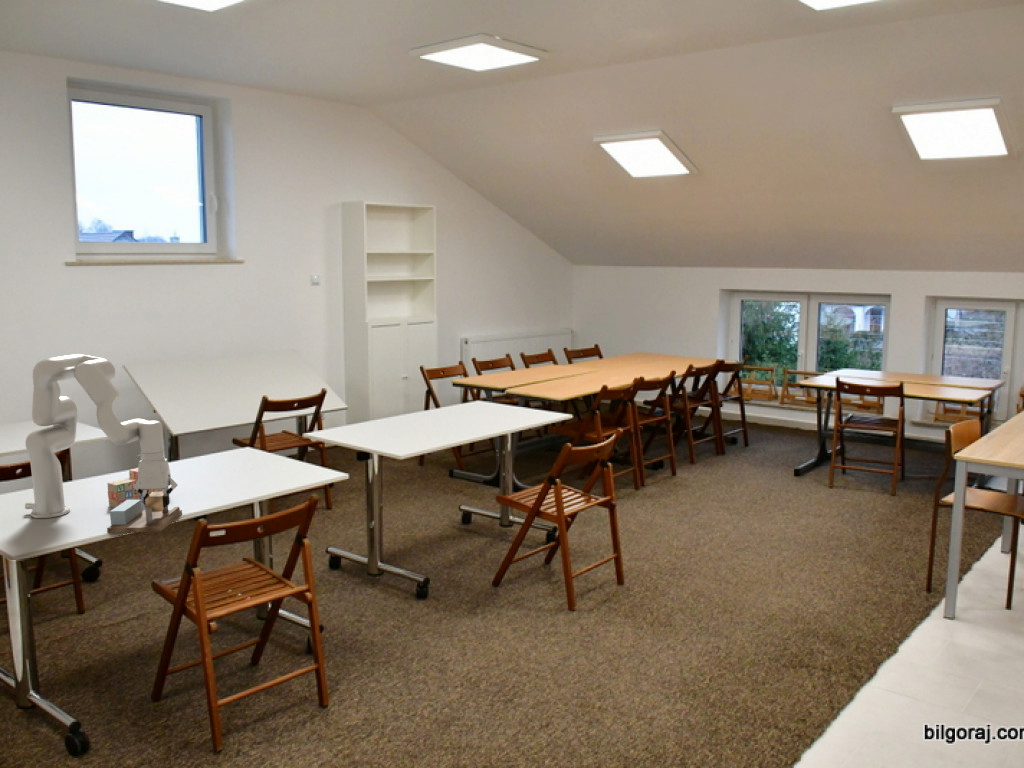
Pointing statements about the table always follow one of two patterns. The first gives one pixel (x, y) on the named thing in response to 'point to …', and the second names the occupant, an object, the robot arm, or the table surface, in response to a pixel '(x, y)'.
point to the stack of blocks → (125, 490)
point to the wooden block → (155, 501)
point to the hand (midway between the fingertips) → (157, 506)
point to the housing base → (142, 522)
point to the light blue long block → (125, 512)
